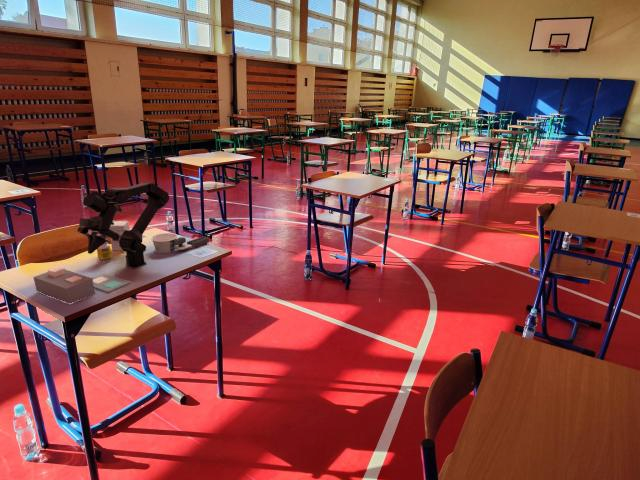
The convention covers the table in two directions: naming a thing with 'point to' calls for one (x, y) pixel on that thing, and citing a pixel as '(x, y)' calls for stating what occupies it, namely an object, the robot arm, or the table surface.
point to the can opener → (190, 242)
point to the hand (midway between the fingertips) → (89, 253)
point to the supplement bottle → (104, 253)
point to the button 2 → (73, 279)
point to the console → (64, 286)
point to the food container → (164, 242)
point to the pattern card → (108, 283)
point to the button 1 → (56, 271)
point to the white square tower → (118, 228)
